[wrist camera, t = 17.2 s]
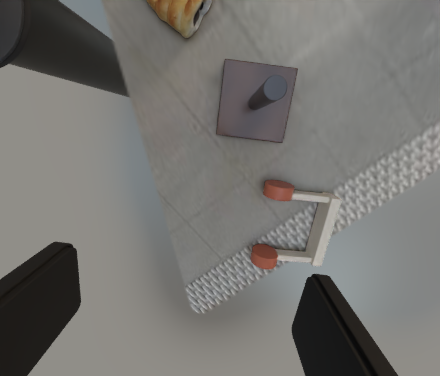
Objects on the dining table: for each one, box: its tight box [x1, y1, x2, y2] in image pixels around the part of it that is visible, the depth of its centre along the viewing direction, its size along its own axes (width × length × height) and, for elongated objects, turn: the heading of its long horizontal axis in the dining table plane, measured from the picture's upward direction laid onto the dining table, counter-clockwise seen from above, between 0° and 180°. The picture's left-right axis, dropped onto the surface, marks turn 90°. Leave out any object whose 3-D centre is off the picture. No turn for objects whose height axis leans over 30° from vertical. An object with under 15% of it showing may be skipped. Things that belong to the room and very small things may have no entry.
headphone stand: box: [216, 59, 298, 143], centre depth 24 cm, size 10×10×14 cm
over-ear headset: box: [251, 180, 342, 269], centre depth 34 cm, size 4×14×12 cm
